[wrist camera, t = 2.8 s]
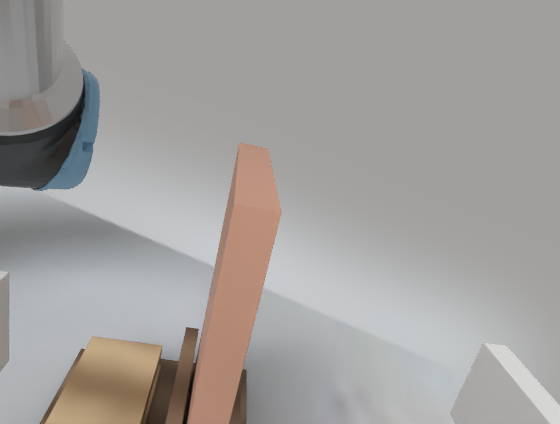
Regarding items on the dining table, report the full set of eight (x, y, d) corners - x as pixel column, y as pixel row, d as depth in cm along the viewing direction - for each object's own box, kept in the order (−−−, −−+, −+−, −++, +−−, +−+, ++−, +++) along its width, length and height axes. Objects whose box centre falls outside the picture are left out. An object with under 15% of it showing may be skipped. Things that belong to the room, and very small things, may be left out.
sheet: (194, 371, 35) (239, 142, 28) (217, 374, 35) (268, 148, 28) (169, 522, 24) (234, 203, 17) (203, 524, 24) (281, 212, 17)
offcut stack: (87, 367, 33) (90, 330, 31) (159, 376, 34) (165, 340, 32) (24, 493, 23) (25, 448, 22) (125, 501, 24) (131, 457, 23)
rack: (80, 362, 35) (84, 308, 33) (243, 383, 37) (255, 333, 35) (-19, 548, 22) (-21, 476, 20) (240, 563, 24) (260, 499, 22)
